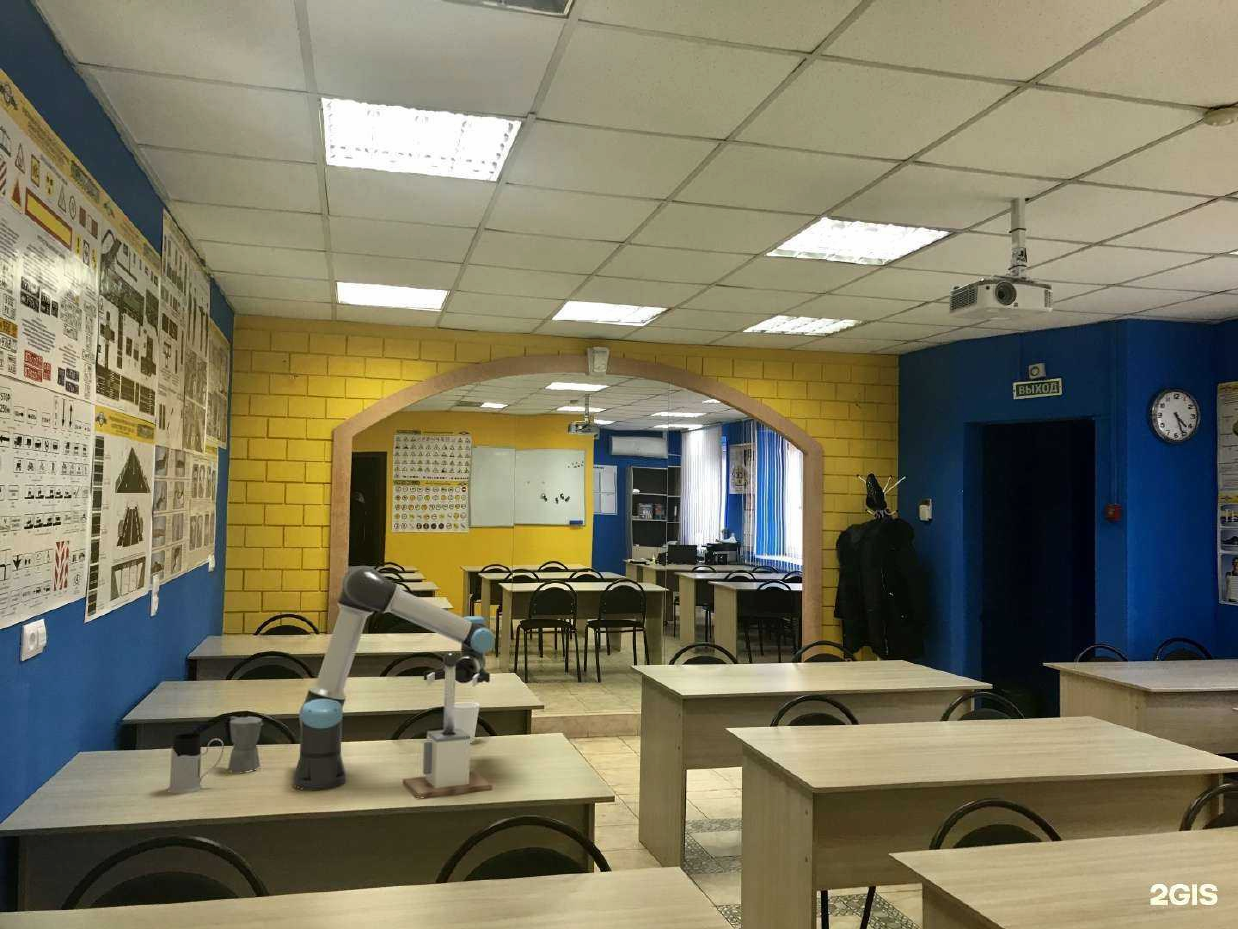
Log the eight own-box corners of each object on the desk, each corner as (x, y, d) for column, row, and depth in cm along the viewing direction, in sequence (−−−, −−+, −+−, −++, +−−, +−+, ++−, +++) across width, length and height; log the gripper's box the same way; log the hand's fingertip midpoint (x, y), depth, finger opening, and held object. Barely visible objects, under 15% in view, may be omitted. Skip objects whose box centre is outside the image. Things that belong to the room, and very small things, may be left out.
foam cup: (481, 739, 329) (482, 702, 330) (474, 745, 320) (475, 708, 321) (455, 738, 330) (456, 701, 331) (447, 744, 321) (449, 706, 322)
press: (428, 789, 264) (429, 739, 265) (418, 780, 273) (419, 732, 273) (468, 784, 270) (470, 735, 270) (458, 775, 278) (459, 728, 279)
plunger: (440, 745, 268) (443, 654, 269) (433, 740, 274) (435, 651, 275) (463, 743, 271) (466, 653, 272) (455, 738, 277) (458, 650, 278)
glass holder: (169, 786, 267) (171, 733, 268) (222, 782, 272) (224, 730, 273) (166, 795, 259) (168, 740, 259) (221, 790, 264) (223, 737, 264)
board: (417, 799, 259) (417, 793, 259) (402, 784, 273) (402, 779, 274) (491, 789, 270) (491, 784, 270) (473, 775, 284) (473, 770, 284)
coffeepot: (271, 768, 287) (273, 710, 288) (248, 776, 279) (251, 715, 280) (234, 762, 293) (236, 705, 294) (210, 769, 285) (213, 710, 286)
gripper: (504, 682, 293) (492, 695, 272) (426, 680, 294) (408, 692, 273) (505, 658, 293) (493, 669, 272) (427, 656, 294) (409, 667, 273)
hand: (450, 681), depth 272 cm, fingers open, 13 cm apart
